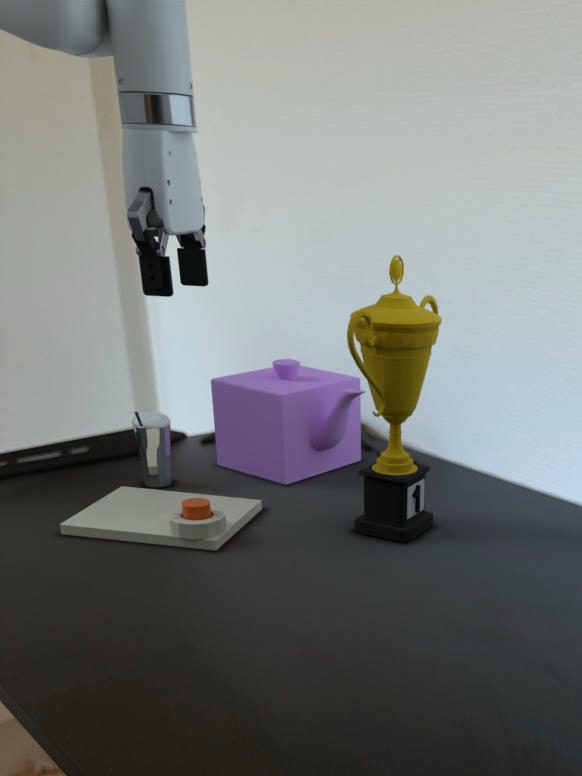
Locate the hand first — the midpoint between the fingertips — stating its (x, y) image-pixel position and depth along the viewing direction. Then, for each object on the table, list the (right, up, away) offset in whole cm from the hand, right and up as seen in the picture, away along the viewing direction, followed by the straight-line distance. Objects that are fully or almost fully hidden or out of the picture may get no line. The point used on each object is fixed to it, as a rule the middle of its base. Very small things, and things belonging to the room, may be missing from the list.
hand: (177, 290), depth 104 cm
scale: (-3, -25, +4) cm, 26 cm away
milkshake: (-8, -19, +15) cm, 26 cm away
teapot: (+8, -15, +26) cm, 31 cm away
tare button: (+3, -26, -2) cm, 26 cm away
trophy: (+24, -26, +6) cm, 36 cm away
